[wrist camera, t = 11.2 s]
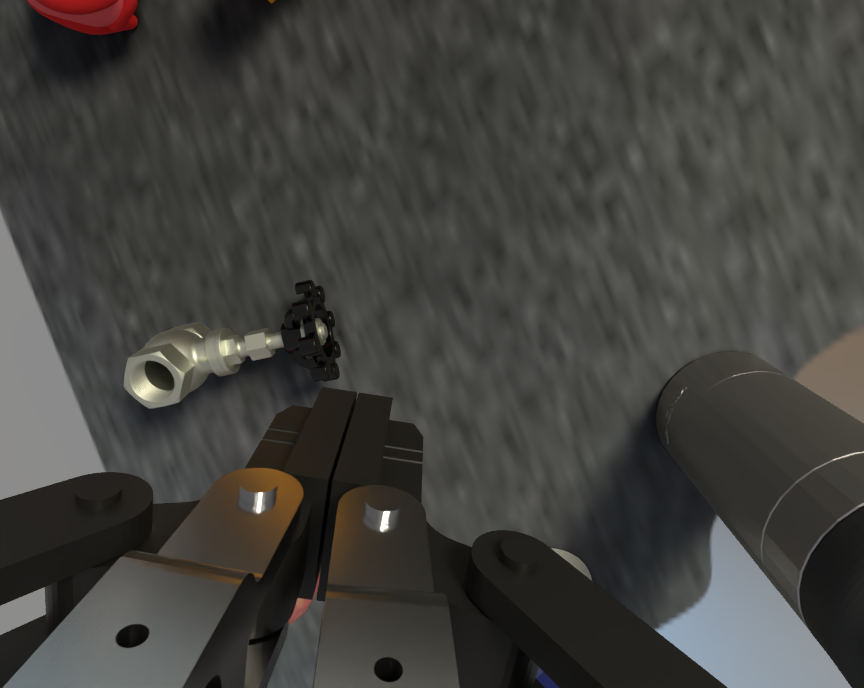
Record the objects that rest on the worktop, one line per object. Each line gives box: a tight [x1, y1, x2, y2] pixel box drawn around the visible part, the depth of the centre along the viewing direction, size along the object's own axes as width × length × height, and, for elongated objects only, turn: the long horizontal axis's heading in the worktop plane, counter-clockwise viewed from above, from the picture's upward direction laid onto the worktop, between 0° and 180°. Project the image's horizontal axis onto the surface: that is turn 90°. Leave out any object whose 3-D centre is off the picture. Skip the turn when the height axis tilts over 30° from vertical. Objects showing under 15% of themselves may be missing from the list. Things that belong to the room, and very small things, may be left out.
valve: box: [124, 280, 341, 409], centre depth 37 cm, size 7×7×12 cm
